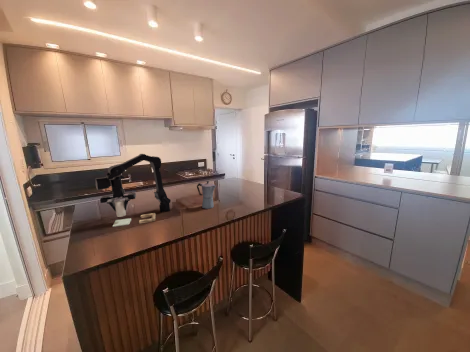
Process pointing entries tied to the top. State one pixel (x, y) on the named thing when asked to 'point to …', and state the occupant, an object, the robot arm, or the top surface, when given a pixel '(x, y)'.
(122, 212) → the cream jug
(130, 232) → the top surface
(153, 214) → the oak cradle
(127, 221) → the sage coaster
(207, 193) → the moka pot
